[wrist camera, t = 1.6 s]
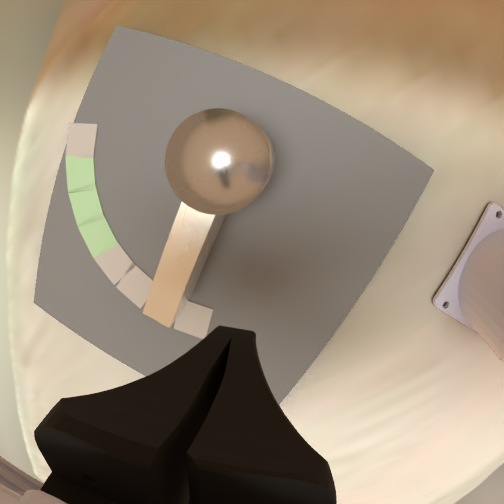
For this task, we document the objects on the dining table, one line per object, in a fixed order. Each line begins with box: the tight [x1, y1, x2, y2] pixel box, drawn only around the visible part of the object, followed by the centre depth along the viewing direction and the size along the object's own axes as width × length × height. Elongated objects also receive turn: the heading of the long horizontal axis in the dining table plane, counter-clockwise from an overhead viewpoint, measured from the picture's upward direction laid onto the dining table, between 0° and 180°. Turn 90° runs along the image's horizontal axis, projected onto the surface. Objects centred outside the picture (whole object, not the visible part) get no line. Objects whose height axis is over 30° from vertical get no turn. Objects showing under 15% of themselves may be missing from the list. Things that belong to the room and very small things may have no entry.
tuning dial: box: [143, 108, 276, 328], centre depth 16 cm, size 13×4×4 cm, turn 156°
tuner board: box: [34, 26, 434, 405], centre depth 19 cm, size 21×22×1 cm
